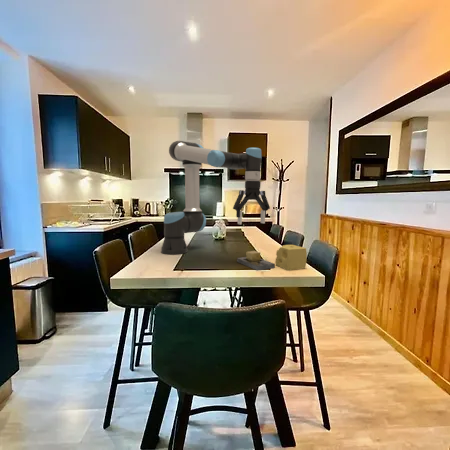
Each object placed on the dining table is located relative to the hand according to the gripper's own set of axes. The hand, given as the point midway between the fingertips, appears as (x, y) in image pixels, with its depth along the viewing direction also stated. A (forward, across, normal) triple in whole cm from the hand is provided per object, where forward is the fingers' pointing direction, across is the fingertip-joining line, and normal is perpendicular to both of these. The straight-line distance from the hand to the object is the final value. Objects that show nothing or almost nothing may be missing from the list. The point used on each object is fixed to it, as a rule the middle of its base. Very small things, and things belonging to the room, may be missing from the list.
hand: (251, 223), depth 138 cm
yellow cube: (+20, 0, -3) cm, 20 cm away
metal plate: (+20, 0, -5) cm, 20 cm away
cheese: (+20, +13, -16) cm, 28 cm away
